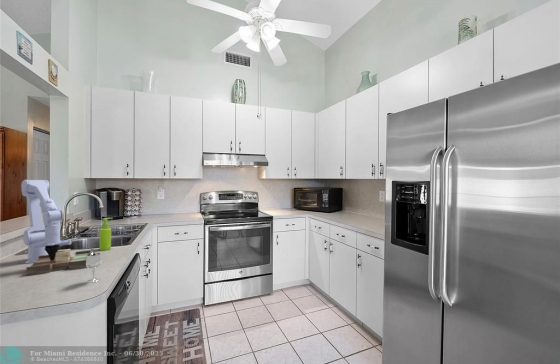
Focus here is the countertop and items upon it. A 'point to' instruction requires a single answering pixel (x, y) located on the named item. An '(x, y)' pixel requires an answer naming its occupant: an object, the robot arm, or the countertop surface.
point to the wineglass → (93, 264)
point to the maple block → (63, 255)
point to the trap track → (58, 263)
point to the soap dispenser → (105, 236)
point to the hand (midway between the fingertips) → (52, 260)
